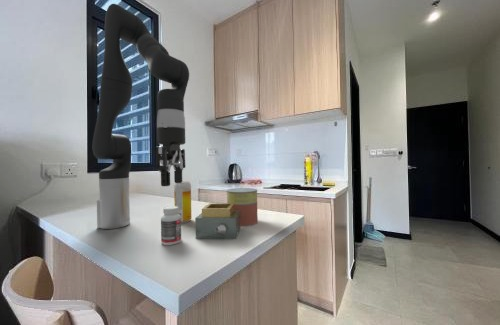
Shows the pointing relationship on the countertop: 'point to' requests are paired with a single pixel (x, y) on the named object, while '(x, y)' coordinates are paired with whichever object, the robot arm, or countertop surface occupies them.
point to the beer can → (183, 200)
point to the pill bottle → (170, 226)
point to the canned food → (244, 204)
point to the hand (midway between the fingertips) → (172, 184)
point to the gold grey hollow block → (218, 221)
